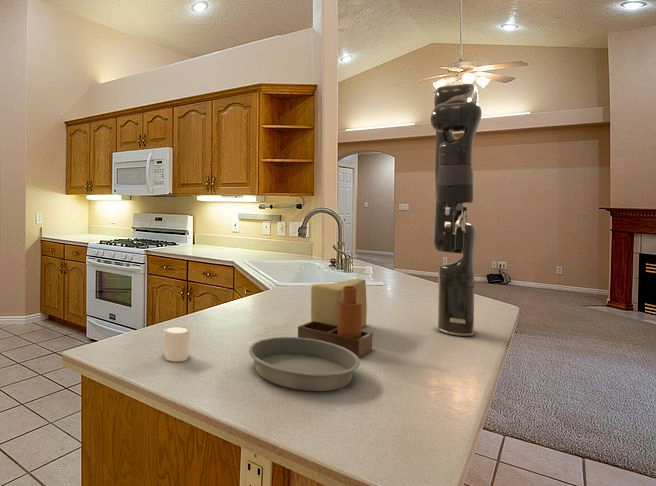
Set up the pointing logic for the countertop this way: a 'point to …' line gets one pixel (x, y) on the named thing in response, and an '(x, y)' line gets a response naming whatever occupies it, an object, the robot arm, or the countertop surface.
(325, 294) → the cheese
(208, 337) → the countertop surface
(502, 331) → the countertop surface
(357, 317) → the bottle
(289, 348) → the cake pan
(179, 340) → the cream cylinder
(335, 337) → the holder
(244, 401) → the countertop surface
